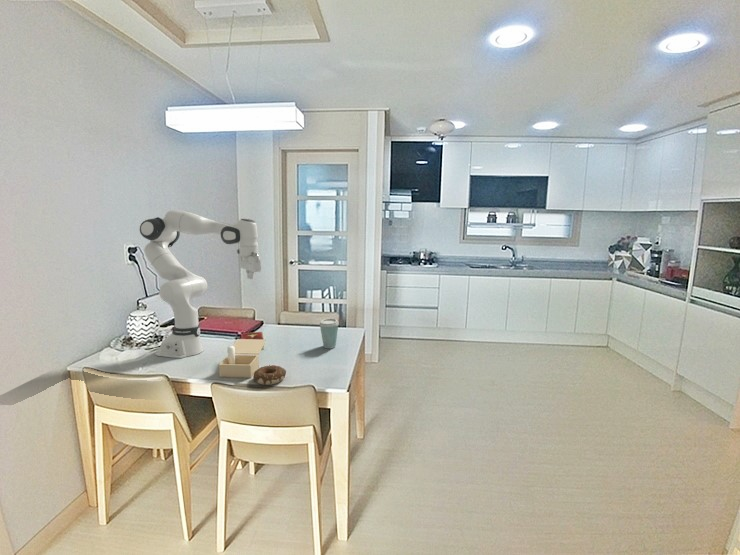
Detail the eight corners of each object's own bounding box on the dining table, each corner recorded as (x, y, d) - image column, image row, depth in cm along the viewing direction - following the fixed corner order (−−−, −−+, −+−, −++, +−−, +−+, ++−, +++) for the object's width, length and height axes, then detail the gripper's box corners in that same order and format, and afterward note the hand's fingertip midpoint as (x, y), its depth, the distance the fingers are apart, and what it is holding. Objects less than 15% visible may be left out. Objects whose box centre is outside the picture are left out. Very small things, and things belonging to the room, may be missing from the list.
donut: (273, 389, 164) (273, 378, 163) (247, 383, 169) (246, 372, 168) (292, 376, 177) (292, 365, 176) (267, 371, 182) (266, 360, 181)
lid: (237, 338, 196) (237, 339, 196) (228, 353, 185) (229, 353, 185) (265, 339, 196) (265, 340, 196) (259, 353, 185) (259, 354, 185)
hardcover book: (241, 352, 205) (240, 345, 204) (240, 340, 224) (240, 332, 224) (264, 350, 208) (264, 343, 208) (262, 338, 228) (262, 331, 227)
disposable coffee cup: (329, 351, 208) (329, 324, 205) (315, 346, 214) (315, 320, 211) (342, 346, 216) (342, 320, 213) (328, 341, 222) (328, 316, 220)
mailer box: (219, 377, 174) (218, 353, 172) (229, 366, 186) (228, 344, 184) (250, 378, 174) (250, 354, 172) (258, 367, 186) (258, 345, 184)
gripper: (264, 253, 190) (264, 281, 193) (247, 249, 206) (248, 275, 208) (251, 253, 186) (252, 282, 189) (235, 250, 202) (236, 276, 204)
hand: (250, 278), depth 199 cm, fingers closed
